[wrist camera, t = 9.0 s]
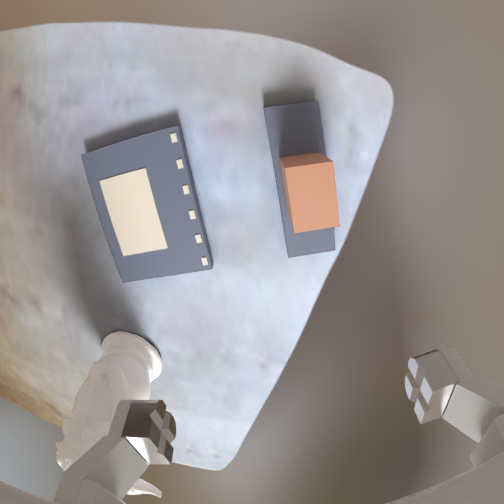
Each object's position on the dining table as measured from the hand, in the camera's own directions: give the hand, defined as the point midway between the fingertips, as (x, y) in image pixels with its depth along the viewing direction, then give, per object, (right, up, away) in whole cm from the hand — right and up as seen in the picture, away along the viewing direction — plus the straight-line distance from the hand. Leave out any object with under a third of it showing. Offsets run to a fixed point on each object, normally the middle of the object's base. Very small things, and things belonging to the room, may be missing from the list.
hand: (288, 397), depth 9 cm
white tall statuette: (-15, -10, +30) cm, 35 cm away
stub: (+3, +11, +19) cm, 22 cm away
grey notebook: (-11, +9, +20) cm, 25 cm away
